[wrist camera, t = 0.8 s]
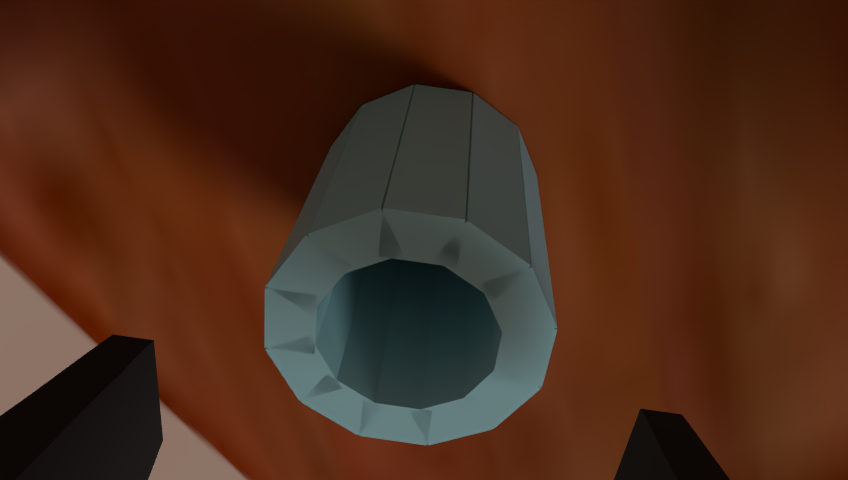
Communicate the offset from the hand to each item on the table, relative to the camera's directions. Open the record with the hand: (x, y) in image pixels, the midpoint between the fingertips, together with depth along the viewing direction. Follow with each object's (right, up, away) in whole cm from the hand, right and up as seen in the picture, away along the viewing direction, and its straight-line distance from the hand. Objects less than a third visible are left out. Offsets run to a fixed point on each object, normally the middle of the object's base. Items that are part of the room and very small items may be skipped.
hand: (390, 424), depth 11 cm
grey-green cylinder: (+1, +4, +7) cm, 8 cm away
